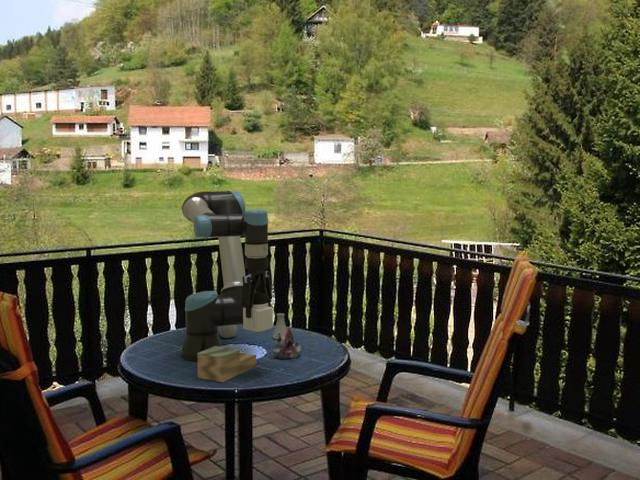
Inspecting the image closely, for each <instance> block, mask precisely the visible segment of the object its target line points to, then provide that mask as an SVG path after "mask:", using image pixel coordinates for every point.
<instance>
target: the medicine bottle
mask: <svg viewBox="0 0 640 480" xmlns="http://www.w3.org/2000/svg"><path fill="white" fill-rule="evenodd" d="M266 305H267V295H266V294H265V293H262V292H259V291H258V292H257V291H256V293H255V297H254V302H253V307H252V308H254V328H249V327H246V309H245V308H243V325H242V329H243V330H247V331H251V332H256V333H260V332H263V331H268V330H271V329H273V327H274V322H273V321H274V316H273V314H274V313H273V312H274V309H273V307H272V306H268V307H267V306H266Z"/></svg>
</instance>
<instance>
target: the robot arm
mask: <svg viewBox="0 0 640 480" xmlns="http://www.w3.org/2000/svg"><path fill="white" fill-rule="evenodd" d="M181 211H182V215H183V216H184V218H185V219H186V220H188V221H189V222H191V223H193V224H192V225H193V233H194V236H195V237H196V238H202V239H203V238H204V239H207V238H208V239H209V238H217V240H218V246H219V255H220V263H221V264H220V265H221V272H222V280H223V287H222V288H221V290H220V294H218V293H217V291H215V290H204V291H199V292H195V293H191V294H190V295H188V296H187V297H186V299H185V304H184V305H185V306H184V311H185V337H184V340H183V341H184V342H183V343H182V344H183V345H182V348H181V358H182V359H183V360H188V361H196V362H197V353H199V352H201V351H204V350H206V349H209V348H211V347H214V346H220V347H223V345H222V343H221V339H220V336H219V326H229V325H236V326H240V325H241V326H243V308H245V309H246V327H249V328H254V308H252V307H253V302H254V297H255V293H256V292H257V289H258V292H262V293H265V294H266V295H267V305H266V306H267V307H269V303H272V300H273V293H272V292H273V290H272V282H271V276H272V275H271V271H270V270H267V269H268V268H269V258H268V255H269V235H268V234H269V227H268V226H269V217H268V211H267V210H266V209H246V202H245V200H244V197H243V195H242V194H241V193H240V192H239V191H231V190H227V191H226V190H224V191H223V190H222V191H221V190H220V191H219V190H218V191H214V190H213V191H198V192H195V193H192V194H190V195H189V196H188V197H186V198H185V200H184V201H183V202H182V205H181ZM242 237H244V253H243V247H242ZM244 255H245V258H244ZM244 260H245V261H244ZM245 269H247V270H248V272H247V275H246V270H245Z"/></svg>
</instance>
